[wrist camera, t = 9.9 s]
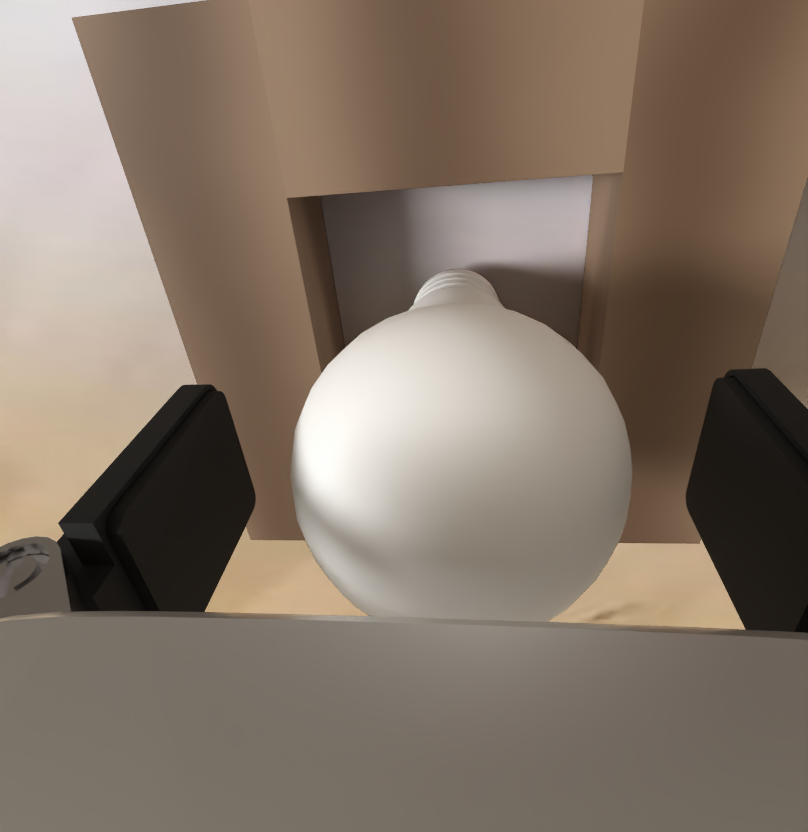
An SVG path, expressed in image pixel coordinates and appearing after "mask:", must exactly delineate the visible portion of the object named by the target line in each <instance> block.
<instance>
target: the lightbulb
mask: <svg viewBox="0 0 808 832" xmlns="http://www.w3.org/2000/svg"><path fill="white" fill-rule="evenodd" d="M290 477H291V484H292V491H293V497H294V504H295V510H296V517H297V522H298V524H299V526H300V529H301V531H302V533H303V536H304V538H305V541H306V543H307V545H308V547H309V549H310V551H311V552H312V554H313V556H314V558H315V560H316V562H317V563H318V565H319V566H320V567H321V569H322V570H323V572H324V573H325V574H326V576H327V577H328V579H329V580H330V581H331V582H332V583H333V584H334V585H335V587H336V588H337V589H338V590H339V591H340V592H341V593H342V595H344V596H345V597H346V598H347V599H348V600H349V601H350V602H351V603H352V604H353V605H354V606H355V607H356V608H358V609H359V610H361V611H362V612H364V613H365V614H367V615H369V616H372V617H405V618H438V619H470V620H501V621H532V622H548V621H550V620H551V619H553V618H554V617H556V616H557V615H559V614H561V613H562V612H564V611H565V610H566V609H567V608H568V607H569V606H570V605H572V604H573V603H574V602H575V601H576V600H577V599H578V598H579V597H580V596H581V595H582V594H583V593H584V592H585V591H586V590H587V589H588V588H589V586H590V585H591V584H592V583H593V582H594V581H595V580H596V579H597V577H598V576H599V574H600V573H601V571H602V570H603V568H604V567H605V565H606V564H607V562H608V560H609V559H610V557H611V555H612V553H613V551H614V550H615V548H616V546H617V544H618V542H619V540H620V537H621V534H622V532H623V529H624V526H625V523H626V520H627V515H628V509H629V503H630V497H631V484H632V461H631V449H630V444H629V439H628V435H627V430H626V426H625V421H624V419H623V417H622V414H621V412H620V410H619V408H618V405H617V403H616V401H615V399H614V397H613V395H612V393H611V391H610V390H609V388H608V386H607V384H606V382H605V380H604V378H603V377H602V376H601V375H600V373H599V372H598V371H597V370H596V369H595V368H594V367H593V366H592V364H591V363H590V362H589V361H588V360H587V359H586V358H585V356H584V355H583V354H582V353H581V352H580V351H578V350H577V349H576V348H575V347H574V346H573V345H572V344H571V343H570V342H569V341H567V340H566V339H565V338H563V337H562V336H560V335H559V334H558V333H556V332H555V331H553V330H552V329H551V328H549V327H548V326H546V325H545V324H543V323H541V322H539V321H536V320H534V319H532V318H530V317H527V316H525V315H523V314H520V313H518V312H516V311H512V310H507V309H505V308H504V307H503V305H502V304H501V303H500V301H499V298H498V297H497V294H496V292H495V290H494V288H493V287H492V285H491V284H490V283H489V282H488V281H487V280H486V279H485V278H484V277H482V276H481V275H479V274H477V273H475V272H473V271H469V270H464V269H452V270H446V271H443V272H440V273H438V274H436V275H434V276H433V277H431V278H430V279H429V280H428V281H427V282H425V283H424V285H423V286H422V287H421V289H420V290H419V292H418V294H417V296H416V298H415V301H414V305H413V306H411V308H410V309H409V310H408V311H406V312H403V313H400V314H397V315H394V316H391V317H389V318H386V319H385V320H383V321H381V322H380V323H378V324H376V325H374V326H373V327H371V328H369V329H368V330H366V331H364V332H362V333H361V334H360V335H359V336H358V337H357V338H356V339H354V340H353V341H352V342H351V343H350V344H349V345H348V346H347V347H346V348H344V349H343V350H342V351H341V352H340V353H339V354H338V355H337V356H336V357H335V358H334V359H333V360H332V361H331V362H330V363H329V364H328V365H327V366H326V368H325V369H324V371H323V372H322V374H321V375H320V377H319V378H318V379H317V381H316V382H315V384H314V385H313V387H312V388H311V390H310V393H309V395H308V397H307V400H306V402H305V405H304V407H303V410H302V412H301V415H300V418H299V420H298V423H297V426H296V428H295V432H294V441H293V450H292V461H291V473H290Z"/></svg>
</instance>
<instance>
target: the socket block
mask: <svg viewBox="0 0 808 832" xmlns="http://www.w3.org/2000/svg"><path fill="white" fill-rule="evenodd" d="M72 20H73V23H74V26H75V29H76V32H77V35H78V38H79V41H80V44H81V47H82V50H83V52H84V55H85V58H86V61H87V64H88V67H89V70H90V73H91V76H92V79H93V82H94V85H95V87H96V90H97V93H98V96H99V99H100V102H101V105H102V108H103V111H104V114H105V117H106V119H107V122H108V125H109V128H110V131H111V134H112V137H113V140H114V143H115V146H116V149H117V152H118V154H119V157H120V160H121V163H122V166H123V169H124V172H125V175H126V178H127V181H128V184H129V187H130V189H131V192H132V195H133V198H134V201H135V204H136V207H137V210H138V213H139V216H140V219H141V221H142V224H143V227H144V230H145V233H146V236H147V239H148V242H149V245H150V248H151V251H152V254H153V256H154V259H155V262H156V265H157V268H158V271H159V274H160V277H161V280H162V283H163V286H164V288H165V291H166V294H167V297H168V300H169V303H170V306H171V309H172V312H173V315H174V318H175V321H176V323H177V326H178V329H179V332H180V335H181V338H182V341H183V344H184V347H185V350H186V353H187V356H188V358H189V361H190V364H191V367H192V370H193V373H194V376H195V379H196V382H197V385H203V384H211V385H213V386H214V387H215V388H216V389H217V391H221V392H223V393H224V395H225V397H226V399H227V403H228V406H229V409H230V412H231V416H232V419H233V422H234V425H235V428H236V432H237V435H238V438H239V441H240V445H241V448H242V451H243V454H244V458H245V461H246V464H247V467H248V470H249V474H250V477H251V480H252V483H253V487H254V490H255V494H256V503H255V507H254V510H253V512H252V514H251V516H250V518H249V521H248V523H247V525H246V527H247V530H248V533H249V536H250V539H251V540H305V538H304V536H303V533H302V531H301V529H300V526H299V524H298V522H297V517H296V510H295V504H294V497H293V491H292V484H291V477H290V473H291V461H292V450H293V441H294V432H295V428H296V426H297V423H298V420H299V418H300V415H301V412H302V410H303V407H304V405H305V402H306V400H307V397H308V395H309V393H310V390H311V388H312V387H313V385H314V384H315V382H316V381H317V379H318V378H319V377H320V375H321V374H322V372H323V371H324V369H325V368H326V366H327V365H328V364H329V363H330V362H331V361H332V360H333V359H334V358H335V357H336V356H337V355H338V354H339V353H340V352H341V351H342V350H343V349H344V348H345V345H344V339H343V332H342V326H341V320H340V314H339V308H338V302H337V296H336V290H335V284H334V278H333V272H332V266H331V260H330V253H329V247H328V241H327V235H326V229H325V223H324V217H323V211H322V205H321V199H320V195H332V194H345V193H358V192H371V191H384V190H397V189H410V188H424V187H437V186H450V185H463V184H476V183H489V182H502V181H515V180H528V179H541V178H554V177H567V176H580V175H593V185H592V195H591V206H590V217H589V227H588V238H587V248H586V259H585V270H584V280H583V291H582V302H581V312H580V323H579V333H578V344H577V350H578V351H580V352H581V353H582V354H583V355H584V356H585V358H586V359H587V360H588V361H589V362H590V363H591V364H592V366H593V367H594V368H595V369H596V370H597V371H598V372H599V373H600V375H601V376H602V377H603V378H604V380H605V382H606V384H607V386H608V388H609V390H610V391H611V393H612V395H613V397H614V399H615V401H616V403H617V405H618V408H619V410H620V412H621V414H622V417H623V419H624V421H625V426H626V430H627V435H628V439H629V444H630V449H631V461H632V484H631V497H630V503H629V509H628V515H627V520H626V523H625V526H624V529H623V532H622V534H621V537H620V540H619V542H618V543H688V544H700V541H701V537H700V535H699V533H698V531H697V529H696V526H695V524H694V522H693V520H692V518H691V516H690V514H689V512H688V509H687V506H686V490H687V486H688V482H689V478H690V474H691V470H692V466H693V462H694V458H695V454H696V450H697V446H698V442H699V438H700V434H701V430H702V426H703V422H704V418H705V414H706V410H707V406H708V402H709V398H710V394H711V390H712V386H713V384H714V381H715V380H716V379H717V378H724V376H725V374H726V373H727V371H729V370H730V369H751V368H752V364H753V361H754V358H755V354H756V351H757V347H758V344H759V341H760V337H761V334H762V330H763V327H764V324H765V320H766V317H767V313H768V310H769V307H770V303H771V300H772V297H773V293H774V290H775V286H776V283H777V280H778V276H779V273H780V269H781V266H782V263H783V259H784V256H785V252H786V249H787V246H788V242H789V239H790V236H791V232H792V229H793V225H794V222H795V219H796V215H797V212H798V208H799V205H800V202H801V198H802V195H803V191H804V188H805V185H806V181H807V178H808V0H206V1H198V2H191V3H183V4H175V5H167V6H160V7H152V8H144V9H136V10H128V11H121V12H113V13H105V14H97V15H90V16H82V17H74V18H72Z"/></svg>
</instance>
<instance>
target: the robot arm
mask: <svg viewBox="0 0 808 832" xmlns="http://www.w3.org/2000/svg"><path fill="white" fill-rule="evenodd" d="M255 503H256V494H255V490H254V487H253V483H252V480H251V477H250V474H249V470H248V467H247V464H246V461H245V458H244V454H243V451H242V448H241V445H240V441H239V438H238V435H237V432H236V428H235V425H234V422H233V419H232V416H231V412H230V409H229V406H228V403H227V399H226V397H225V395H224V393H223V392H221V391H217V389H216V388H215V387H214V386H213V385H211V384H203V385H183V386H181V387H180V388H179V389H178V390H177V391H176V392H175V393H174V394H173V396H172V397H171V398H170V399H169V400H168V401H167V402H166V403H165V404H164V406H163V407H162V408H161V409H160V410H159V411H158V412H157V413H156V415H155V416H154V417H153V418H152V419H151V420H150V421H149V422H148V423H147V425H146V426H145V427H144V428H143V429H142V430H141V431H140V432H139V434H138V435H137V436H136V437H135V438H134V439H133V440H132V441H131V442H130V444H129V445H128V446H127V447H126V448H125V449H124V450H123V451H122V453H121V454H120V455H119V456H118V457H117V458H116V459H115V460H114V461H113V463H112V464H111V465H110V466H109V467H108V468H107V469H106V470H105V471H104V473H103V474H102V475H101V476H100V477H99V478H98V479H97V480H96V482H95V483H94V484H93V485H92V486H91V487H90V488H89V489H88V490H87V492H86V493H85V494H84V495H83V496H82V497H81V498H80V499H79V501H78V502H77V503H76V504H75V505H74V506H73V507H72V508H71V509H70V511H69V512H68V513H67V514H66V515H65V516H64V517H63V518H62V520H61V521H60V522H59V523H58V524H59V525H60V527H61V529H62V530H63V532H64V534H63V536H62V537H61V538H60V539H59V540H58V541H57V542H56V541H54V540H52V539H50V538H48V537H37V536H36V537H30V538H23V539H20V540H17V541H14V542H11V543H8V544H5V545H3V546H1V547H0V832H808V409H807V408H806V407H805V406H804V405H803V404H802V403H801V402H800V401H799V400H798V399H797V398H796V397H795V396H794V395H793V394H792V393H791V392H790V391H789V390H788V389H787V388H786V387H785V386H784V385H783V384H782V383H781V382H780V381H779V380H778V378H777V377H776V376H775V375H774V374H773V373H772V372H771V371H769V370H768V369H730V370H729V371H727V373H726V374H725V376H724V378H717V379H716V380H715V381H714V384H713V386H712V390H711V394H710V398H709V402H708V406H707V410H706V414H705V418H704V422H703V426H702V430H701V434H700V438H699V442H698V446H697V450H696V454H695V458H694V462H693V466H692V470H691V474H690V478H689V482H688V486H687V490H686V506H687V509H688V512H689V514H690V516H691V518H692V520H693V522H694V524H695V526H696V529H697V531H698V533H699V535H700V537H701V539H702V541H703V543H704V545H705V547H706V549H707V551H708V553H709V555H710V557H711V559H712V561H713V563H714V565H715V568H716V570H717V572H718V574H719V576H720V578H721V580H722V582H723V584H724V586H725V588H726V590H727V592H728V594H729V596H730V598H731V600H732V602H733V604H734V607H735V609H736V611H737V613H738V615H739V617H740V619H741V621H742V623H743V625H744V627H745V629H746V630H739V629H719V628H698V627H670V626H643V625H615V624H588V623H560V622H532V621H501V620H470V619H438V618H405V617H372V616H339V615H299V614H260V613H220V612H204V611H205V609H206V607H207V605H208V603H209V601H210V599H211V597H212V595H213V593H214V591H215V589H216V587H217V585H218V583H219V580H220V578H221V576H222V574H223V572H224V570H225V568H226V566H227V564H228V562H229V560H230V558H231V556H232V554H233V552H234V549H235V547H236V545H237V543H238V541H239V539H240V537H241V535H242V533H243V531H244V529H245V527H246V525H247V523H248V521H249V518H250V516H251V514H252V512H253V510H254V507H255Z"/></svg>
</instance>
